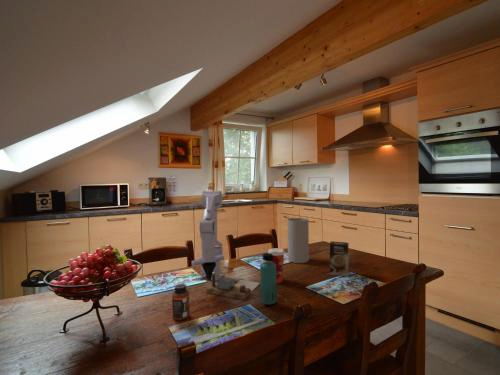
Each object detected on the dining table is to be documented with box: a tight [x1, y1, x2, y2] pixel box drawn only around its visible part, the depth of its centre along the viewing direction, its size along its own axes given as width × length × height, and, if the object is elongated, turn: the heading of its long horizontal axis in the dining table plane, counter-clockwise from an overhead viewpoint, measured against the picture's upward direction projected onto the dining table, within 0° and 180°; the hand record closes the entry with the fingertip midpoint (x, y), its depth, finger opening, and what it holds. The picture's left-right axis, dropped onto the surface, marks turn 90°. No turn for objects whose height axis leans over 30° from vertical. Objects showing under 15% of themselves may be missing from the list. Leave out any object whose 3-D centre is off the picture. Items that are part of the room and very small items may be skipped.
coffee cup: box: [267, 247, 285, 284], centre depth 126 cm, size 8×8×15 cm
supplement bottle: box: [171, 283, 191, 321], centre depth 94 cm, size 6×6×11 cm
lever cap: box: [217, 276, 236, 291], centre depth 113 cm, size 6×4×4 cm
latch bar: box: [198, 271, 216, 282], centre depth 113 cm, size 9×2×1 cm, turn 142°
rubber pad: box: [235, 279, 261, 292], centre depth 121 cm, size 10×9×1 cm
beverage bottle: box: [259, 252, 278, 305], centre depth 102 cm, size 6×7×20 cm
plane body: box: [206, 276, 251, 301], centre depth 113 cm, size 18×7×7 cm, turn 65°
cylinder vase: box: [286, 217, 310, 264], centre depth 157 cm, size 12×12×25 cm
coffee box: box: [329, 241, 350, 278], centre depth 134 cm, size 9×6×16 cm
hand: (208, 279), depth 111 cm, fingers closed
